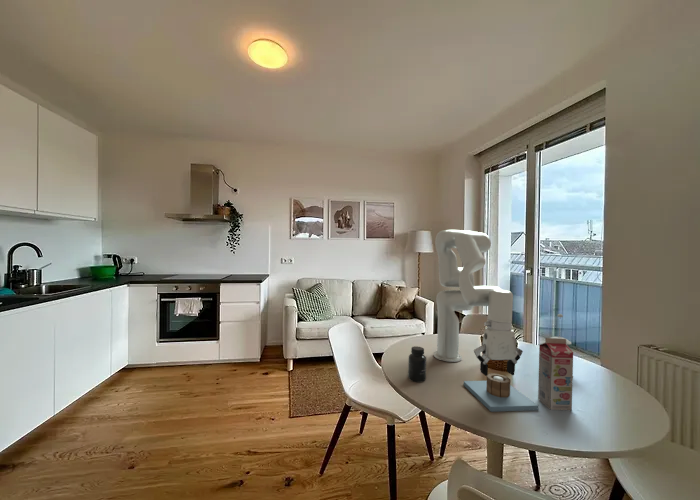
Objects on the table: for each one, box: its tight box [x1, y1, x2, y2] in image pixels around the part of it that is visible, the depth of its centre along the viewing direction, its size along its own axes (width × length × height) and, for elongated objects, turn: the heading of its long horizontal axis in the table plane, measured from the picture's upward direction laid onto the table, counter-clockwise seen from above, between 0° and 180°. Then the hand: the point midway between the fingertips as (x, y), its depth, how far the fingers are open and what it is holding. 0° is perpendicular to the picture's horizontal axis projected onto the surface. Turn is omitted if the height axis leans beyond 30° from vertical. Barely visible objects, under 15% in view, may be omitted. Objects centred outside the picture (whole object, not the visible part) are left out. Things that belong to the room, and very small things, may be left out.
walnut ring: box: [486, 373, 511, 397], centre depth 102 cm, size 7×7×5 cm
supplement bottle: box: [407, 345, 427, 383], centre depth 115 cm, size 7×7×12 cm
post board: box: [463, 376, 539, 412], centre depth 102 cm, size 18×16×6 cm
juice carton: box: [537, 337, 574, 411], centre depth 98 cm, size 7×7×22 cm
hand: (497, 373), depth 103 cm, fingers open, 9 cm apart
